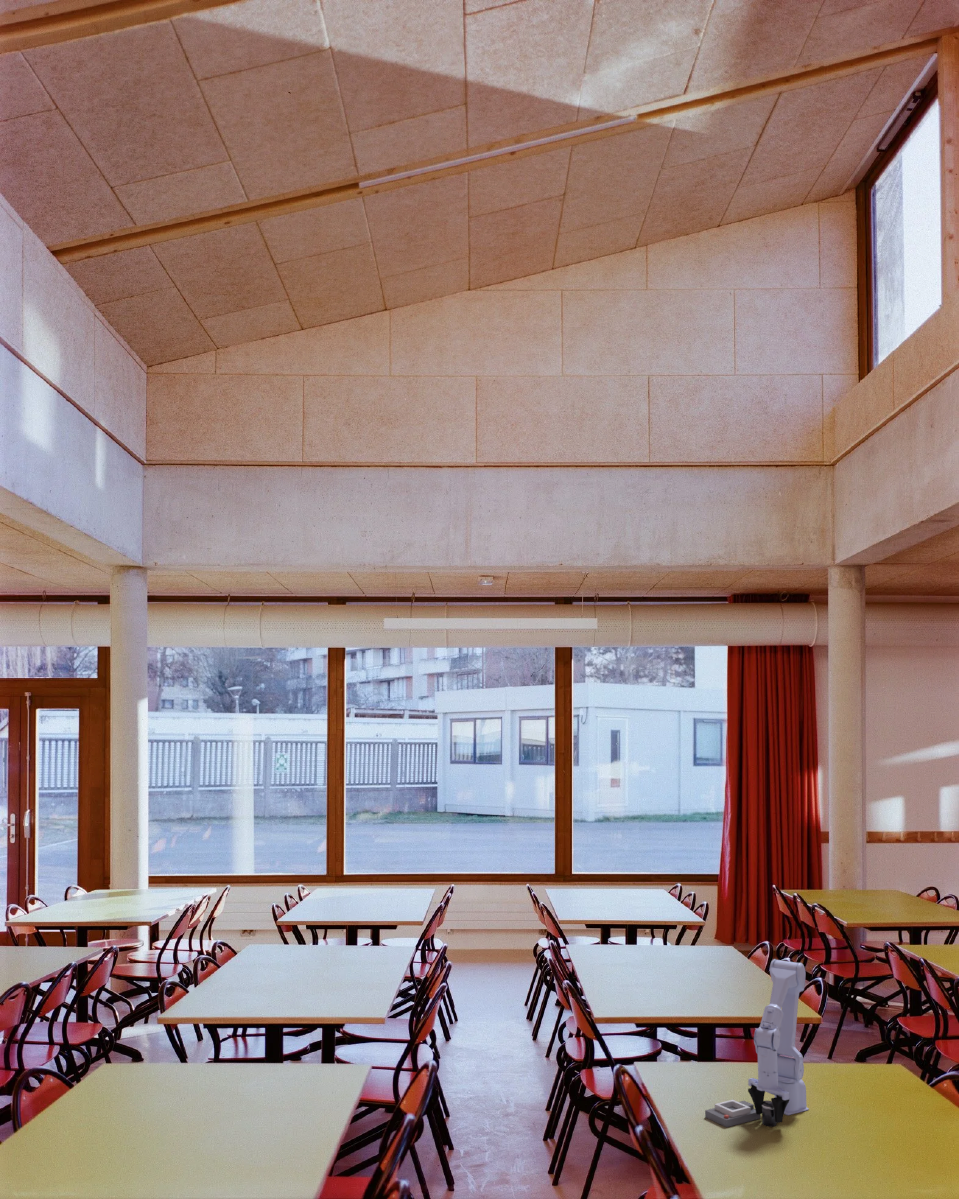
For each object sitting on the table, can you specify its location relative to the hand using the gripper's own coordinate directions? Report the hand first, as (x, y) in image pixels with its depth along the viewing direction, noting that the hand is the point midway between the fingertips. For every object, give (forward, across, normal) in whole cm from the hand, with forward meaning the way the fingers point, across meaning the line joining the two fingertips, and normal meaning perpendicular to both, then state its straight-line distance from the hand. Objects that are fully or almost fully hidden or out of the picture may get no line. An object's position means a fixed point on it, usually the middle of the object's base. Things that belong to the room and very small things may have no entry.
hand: (769, 1118), depth 303 cm
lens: (+2, 0, 0) cm, 2 cm away
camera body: (+2, -9, -6) cm, 11 cm away
